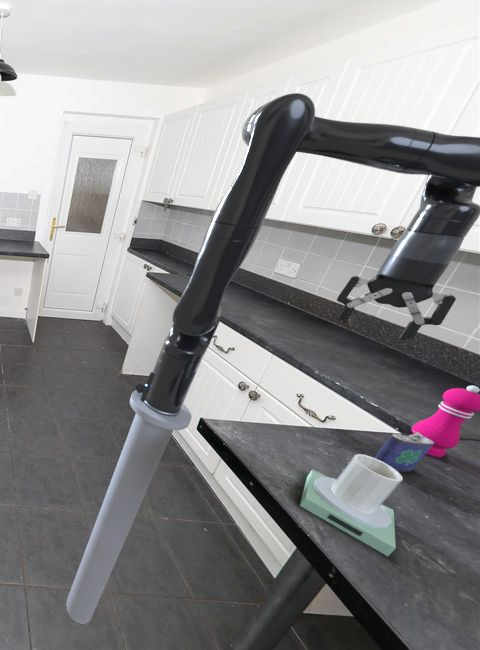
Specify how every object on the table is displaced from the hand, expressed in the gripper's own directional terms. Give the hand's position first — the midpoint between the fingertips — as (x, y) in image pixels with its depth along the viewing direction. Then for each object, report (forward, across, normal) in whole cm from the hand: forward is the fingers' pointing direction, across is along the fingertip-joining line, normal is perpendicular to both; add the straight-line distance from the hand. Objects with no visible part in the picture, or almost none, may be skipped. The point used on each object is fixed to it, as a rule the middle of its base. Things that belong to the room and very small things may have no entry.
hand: (371, 330), depth 71 cm
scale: (+33, +9, -17) cm, 38 cm away
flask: (+33, +16, +12) cm, 39 cm away
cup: (+30, +9, -16) cm, 35 cm away
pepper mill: (+33, +22, +31) cm, 51 cm away
